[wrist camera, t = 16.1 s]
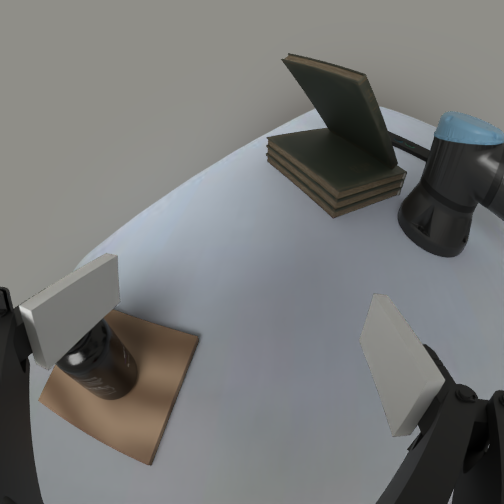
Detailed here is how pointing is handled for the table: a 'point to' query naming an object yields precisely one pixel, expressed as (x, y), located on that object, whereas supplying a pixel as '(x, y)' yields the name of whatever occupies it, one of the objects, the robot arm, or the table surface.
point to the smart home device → (409, 146)
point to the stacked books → (338, 141)
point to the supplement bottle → (101, 363)
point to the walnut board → (138, 399)
